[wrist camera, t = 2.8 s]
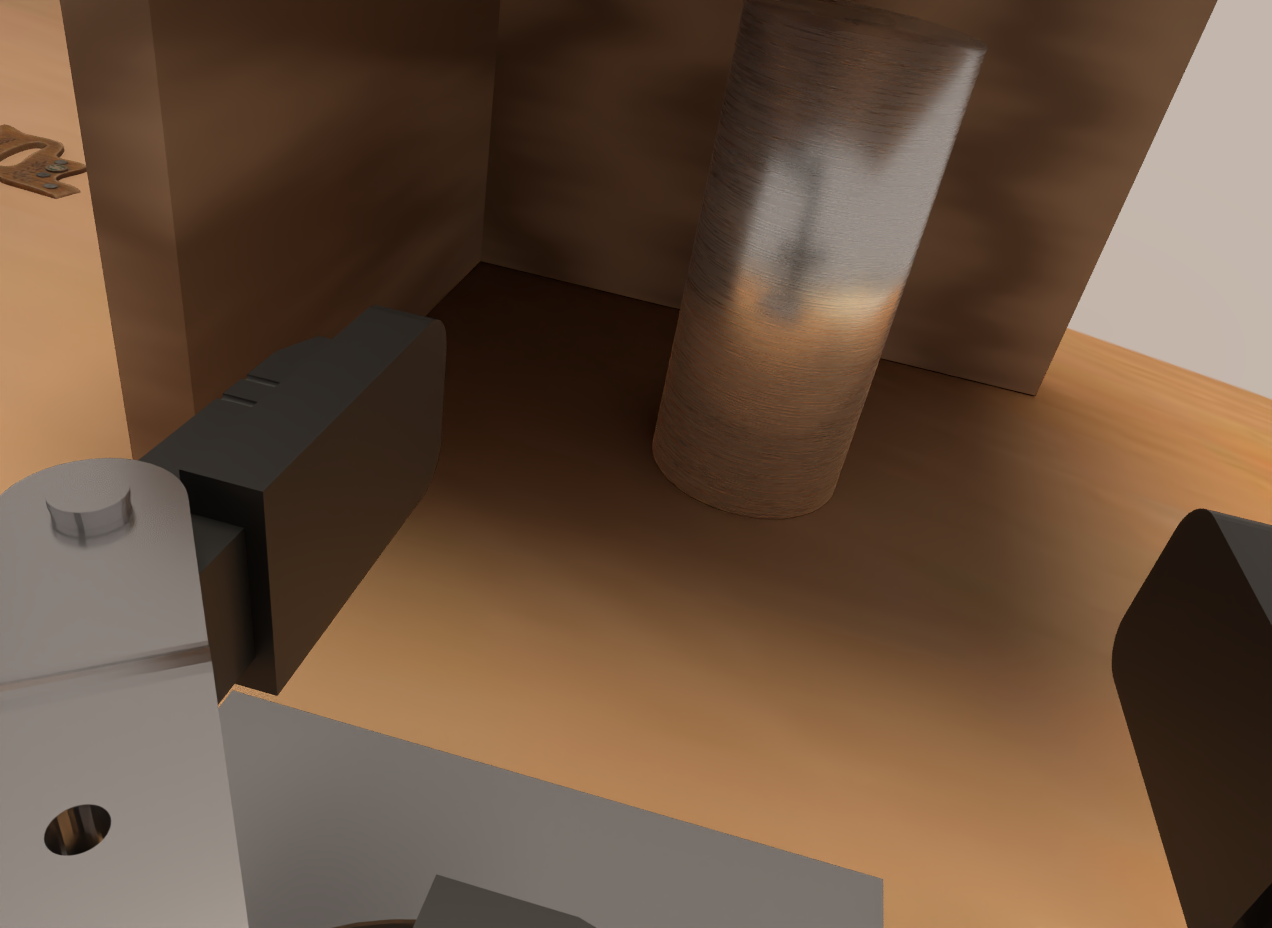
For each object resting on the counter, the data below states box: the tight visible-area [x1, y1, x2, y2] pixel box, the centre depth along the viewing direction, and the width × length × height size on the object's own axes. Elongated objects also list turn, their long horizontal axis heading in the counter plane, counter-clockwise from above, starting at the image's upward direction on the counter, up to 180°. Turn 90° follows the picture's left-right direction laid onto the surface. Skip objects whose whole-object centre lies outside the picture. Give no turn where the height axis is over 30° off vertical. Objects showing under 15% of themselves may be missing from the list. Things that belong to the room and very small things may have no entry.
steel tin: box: [652, 0, 987, 519], centre depth 22 cm, size 5×5×11 cm
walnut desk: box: [60, 0, 1217, 460], centre depth 21 cm, size 21×18×18 cm
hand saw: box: [0, 125, 87, 199], centre depth 33 cm, size 24×5×1 cm, turn 73°
